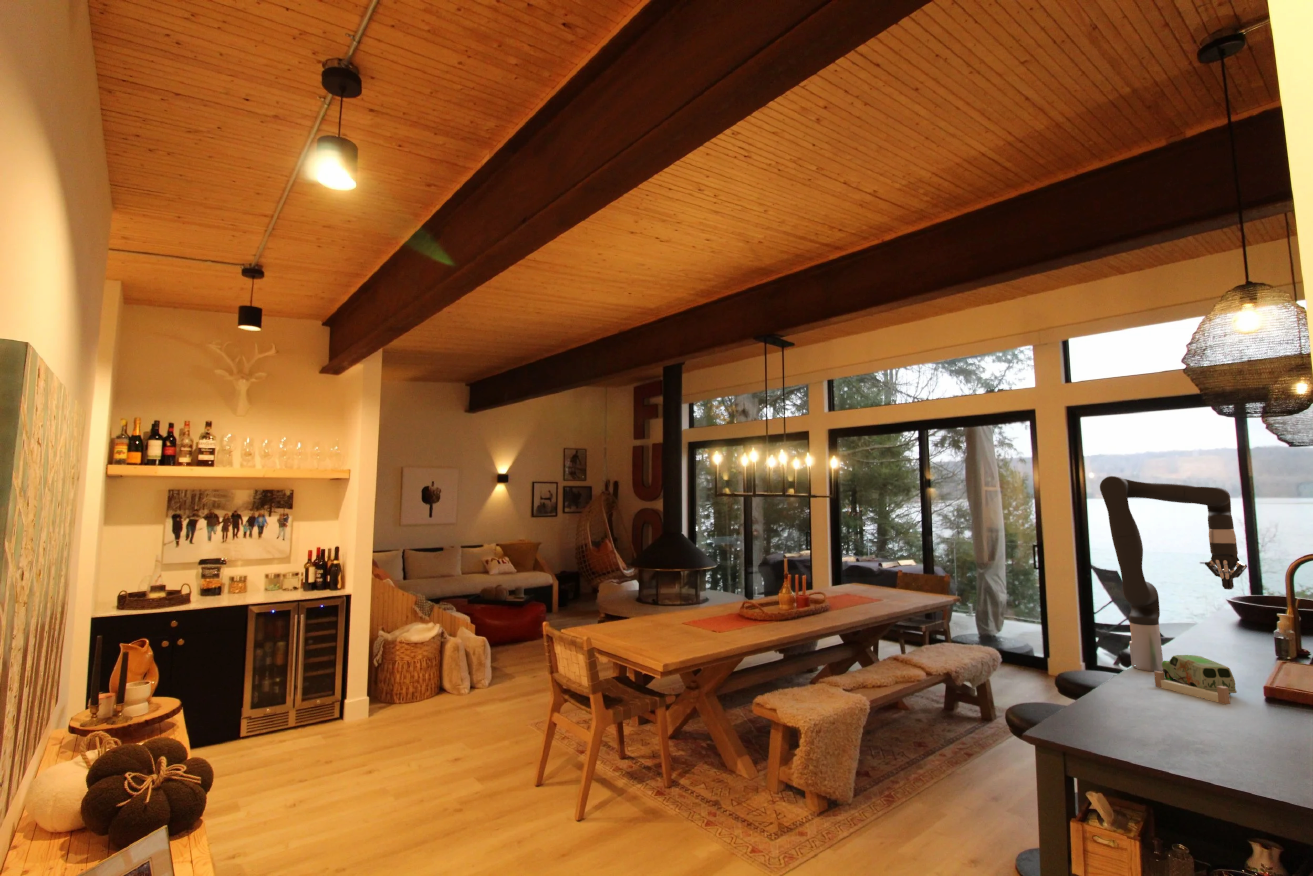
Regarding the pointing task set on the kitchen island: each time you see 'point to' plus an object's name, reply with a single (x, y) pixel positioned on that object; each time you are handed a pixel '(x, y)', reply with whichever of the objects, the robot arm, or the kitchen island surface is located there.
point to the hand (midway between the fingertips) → (1228, 589)
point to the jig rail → (1193, 689)
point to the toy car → (1199, 672)
